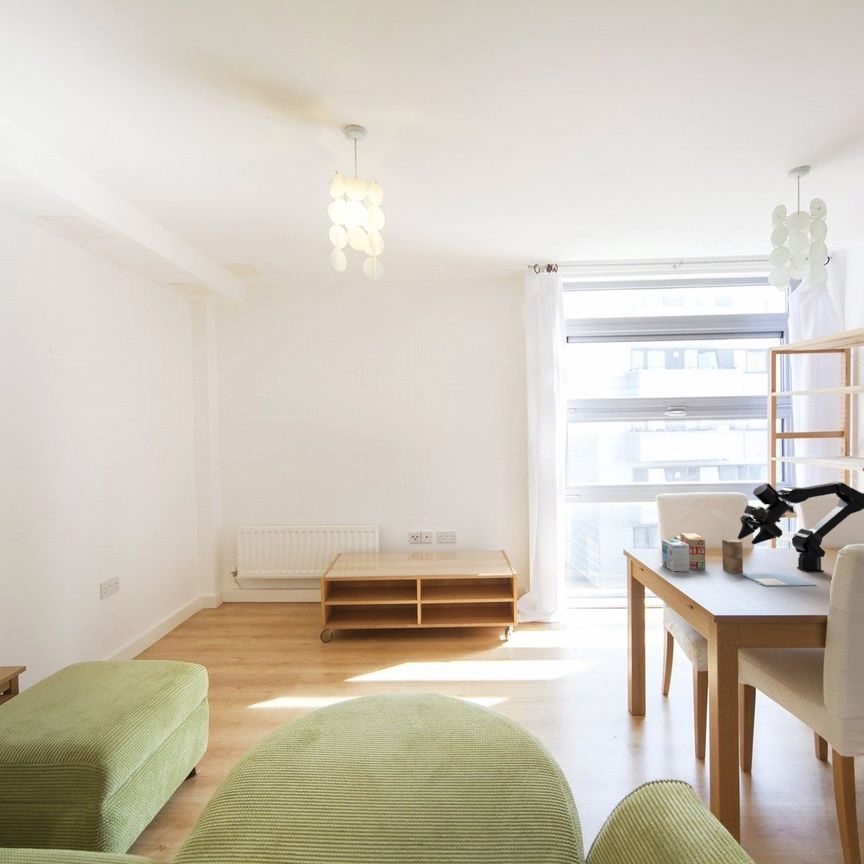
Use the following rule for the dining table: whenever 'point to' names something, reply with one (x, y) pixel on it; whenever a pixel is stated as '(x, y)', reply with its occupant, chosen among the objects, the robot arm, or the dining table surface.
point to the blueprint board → (777, 579)
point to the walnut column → (732, 556)
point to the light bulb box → (675, 555)
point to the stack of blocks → (694, 549)
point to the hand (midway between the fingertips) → (745, 541)
